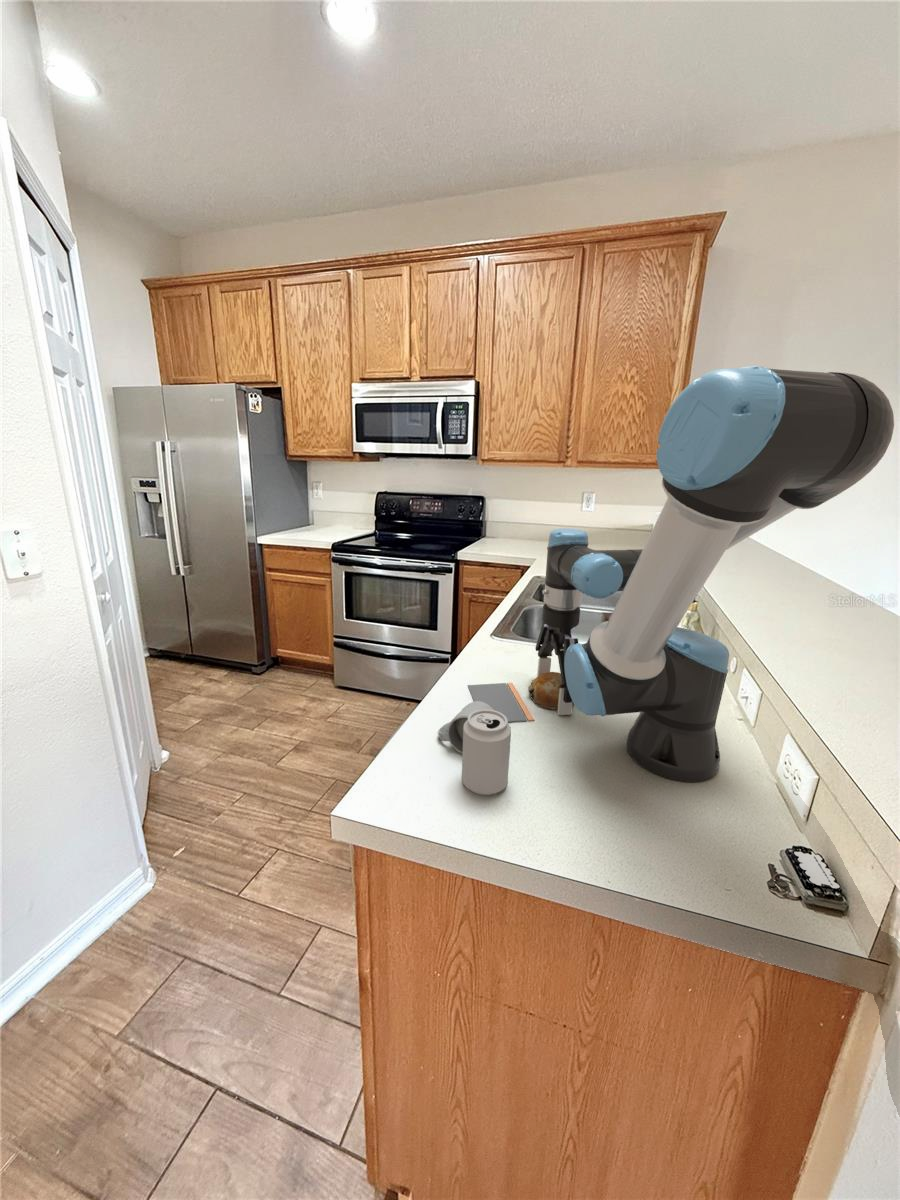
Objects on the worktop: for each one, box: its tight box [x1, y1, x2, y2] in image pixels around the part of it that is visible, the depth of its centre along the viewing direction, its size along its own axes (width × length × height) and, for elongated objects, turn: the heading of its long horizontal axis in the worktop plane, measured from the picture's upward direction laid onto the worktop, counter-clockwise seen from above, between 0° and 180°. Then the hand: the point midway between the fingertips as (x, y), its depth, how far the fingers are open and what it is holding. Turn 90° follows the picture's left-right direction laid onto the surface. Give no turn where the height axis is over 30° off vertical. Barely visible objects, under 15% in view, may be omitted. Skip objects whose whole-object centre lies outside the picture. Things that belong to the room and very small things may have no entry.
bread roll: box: [527, 671, 574, 711], centre depth 105 cm, size 10×10×8 cm
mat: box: [467, 682, 535, 724], centre depth 104 cm, size 16×10×1 cm, turn 9°
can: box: [461, 709, 512, 796], centre depth 77 cm, size 8×8×12 cm
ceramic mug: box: [437, 701, 494, 755], centre depth 89 cm, size 11×8×8 cm
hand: (552, 698), depth 106 cm, fingers open, 12 cm apart
